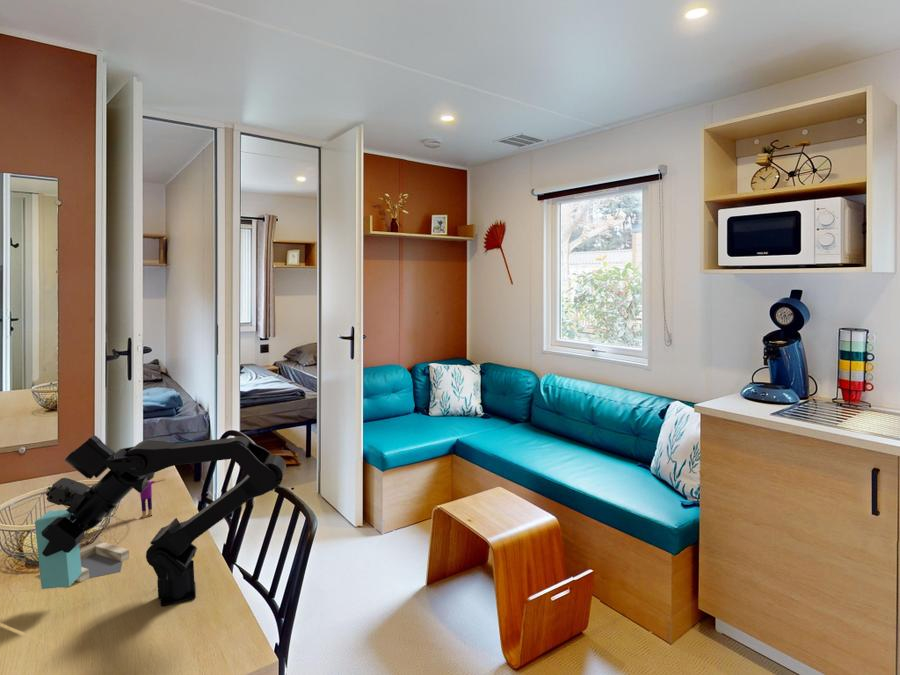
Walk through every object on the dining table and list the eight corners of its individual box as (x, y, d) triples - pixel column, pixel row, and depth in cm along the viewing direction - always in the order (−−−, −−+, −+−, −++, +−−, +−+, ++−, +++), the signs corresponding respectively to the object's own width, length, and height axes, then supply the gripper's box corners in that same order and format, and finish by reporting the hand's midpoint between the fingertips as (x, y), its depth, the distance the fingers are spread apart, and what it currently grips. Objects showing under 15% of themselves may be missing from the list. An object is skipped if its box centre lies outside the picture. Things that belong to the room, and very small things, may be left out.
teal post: (81, 573, 113) (75, 509, 111) (69, 586, 108) (63, 519, 106) (55, 575, 112) (49, 511, 110) (41, 589, 107) (34, 521, 106)
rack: (129, 557, 129) (128, 549, 129) (80, 582, 118) (79, 573, 118) (98, 548, 133) (98, 540, 133) (48, 571, 123) (47, 563, 122)
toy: (164, 508, 157) (162, 458, 155) (171, 514, 153) (169, 463, 151) (124, 520, 149) (121, 467, 148) (130, 526, 145) (127, 473, 144)
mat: (125, 549, 133) (125, 548, 133) (120, 573, 123) (120, 571, 122) (66, 560, 128) (66, 559, 128) (56, 586, 117) (55, 584, 117)
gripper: (97, 451, 117) (44, 504, 116) (49, 484, 99) (-14, 546, 98) (138, 484, 119) (86, 536, 119) (99, 522, 101) (38, 583, 100)
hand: (51, 548), depth 109 cm, fingers closed on teal post, 5 cm apart
